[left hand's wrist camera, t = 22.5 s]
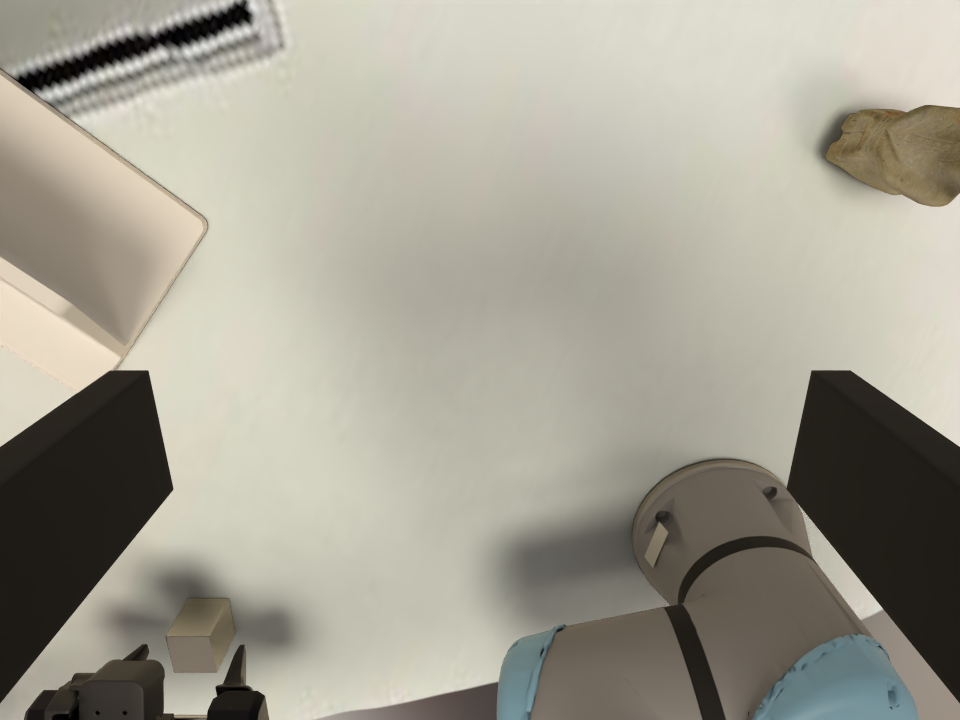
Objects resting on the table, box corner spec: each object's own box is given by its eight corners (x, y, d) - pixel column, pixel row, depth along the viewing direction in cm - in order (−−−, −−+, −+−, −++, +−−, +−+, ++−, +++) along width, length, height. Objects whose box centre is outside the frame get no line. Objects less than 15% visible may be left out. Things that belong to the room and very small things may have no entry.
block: (229, 598, 62) (209, 636, 58) (235, 633, 64) (217, 672, 59) (187, 598, 62) (164, 636, 58) (195, 633, 64) (173, 673, 59)
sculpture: (880, 206, 48) (1043, 245, 34) (802, 165, 47) (938, 188, 33) (930, 133, 46) (1125, 143, 32) (850, 88, 45) (1016, 78, 31)
